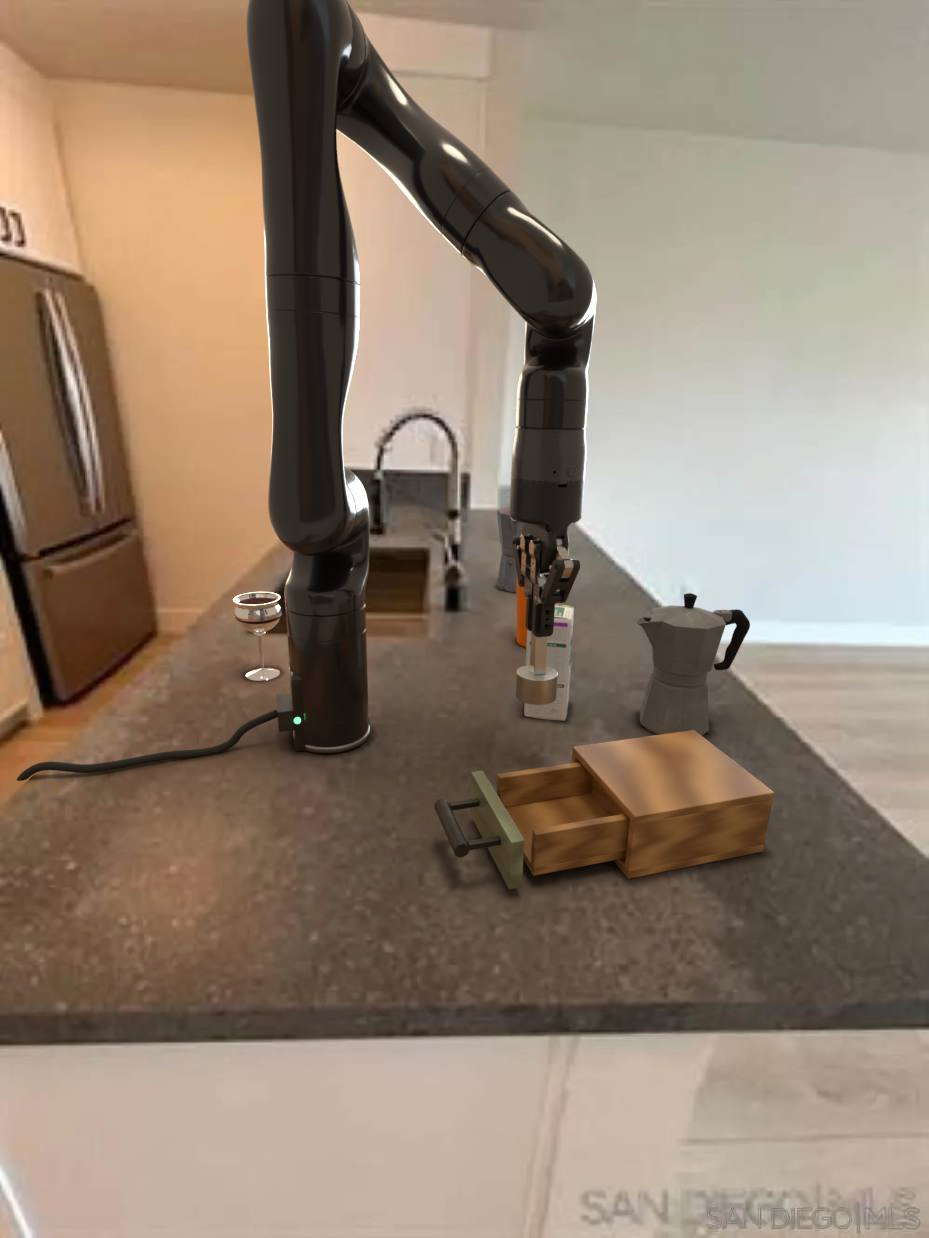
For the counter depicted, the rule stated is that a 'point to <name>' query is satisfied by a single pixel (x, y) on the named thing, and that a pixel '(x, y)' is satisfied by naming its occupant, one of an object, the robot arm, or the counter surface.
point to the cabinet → (679, 800)
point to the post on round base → (537, 675)
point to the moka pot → (507, 550)
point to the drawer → (539, 821)
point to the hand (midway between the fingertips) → (539, 632)
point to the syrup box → (556, 664)
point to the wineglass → (258, 623)
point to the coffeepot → (685, 663)
